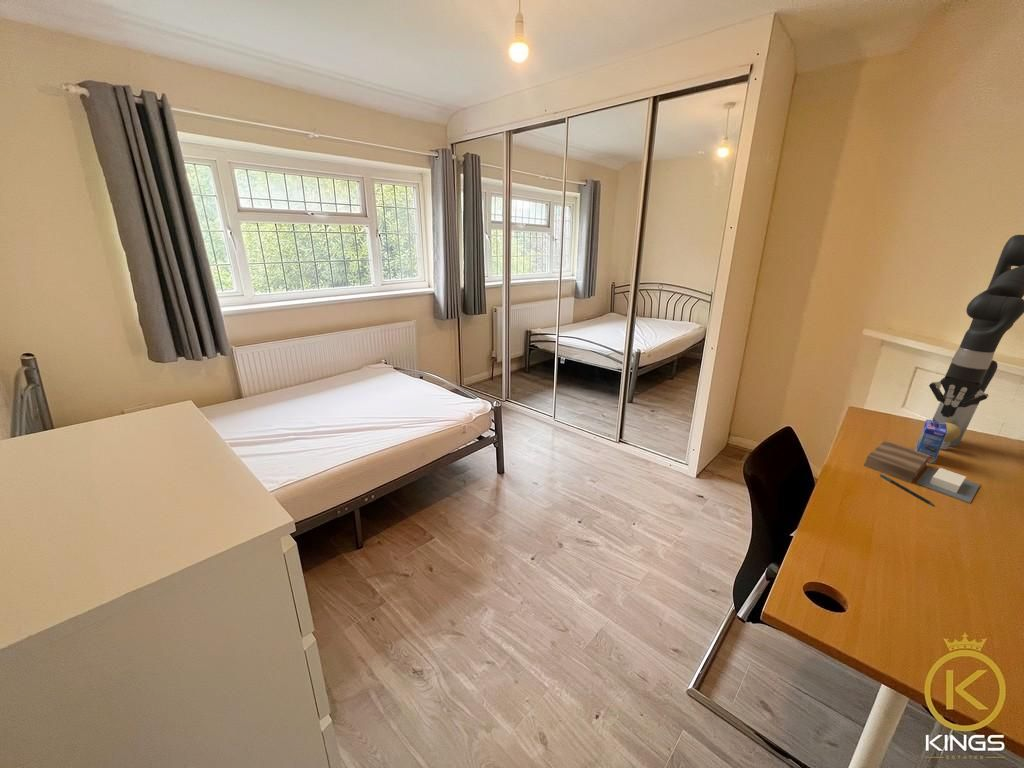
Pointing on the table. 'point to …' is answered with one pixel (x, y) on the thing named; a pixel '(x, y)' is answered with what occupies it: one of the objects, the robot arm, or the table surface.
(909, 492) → the pen
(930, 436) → the ink cartridge box
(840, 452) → the table surface
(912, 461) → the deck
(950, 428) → the light bulb
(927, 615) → the table surface
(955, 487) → the cream rectangular block
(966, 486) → the mat
